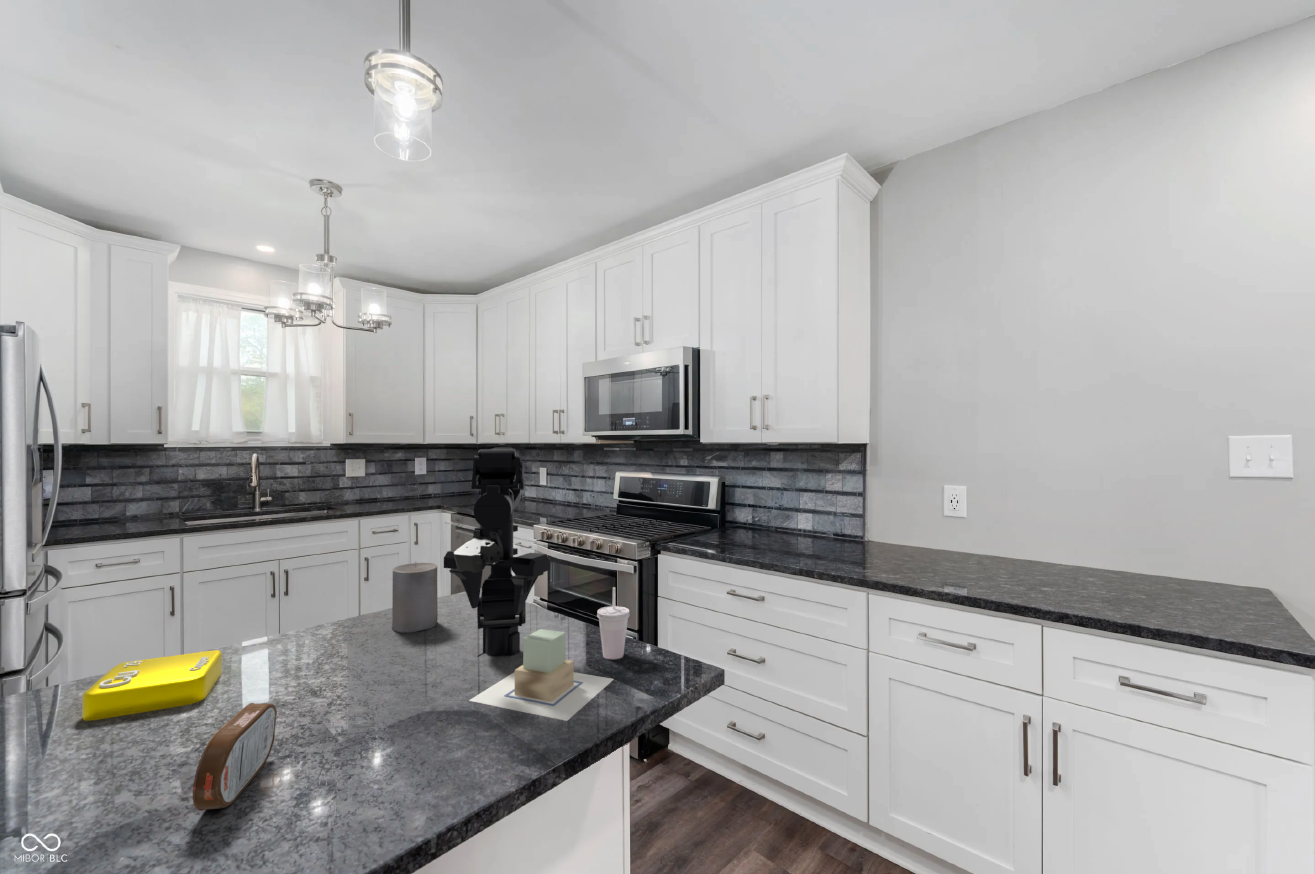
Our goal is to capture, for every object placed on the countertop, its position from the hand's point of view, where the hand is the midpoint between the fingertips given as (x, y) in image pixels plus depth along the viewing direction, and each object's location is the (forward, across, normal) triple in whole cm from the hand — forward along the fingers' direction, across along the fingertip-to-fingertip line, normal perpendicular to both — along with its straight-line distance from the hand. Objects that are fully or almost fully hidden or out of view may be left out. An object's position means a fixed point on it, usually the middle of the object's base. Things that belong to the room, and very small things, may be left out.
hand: (495, 610), depth 97 cm
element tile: (+14, -51, -23) cm, 58 cm away
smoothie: (+13, +14, +18) cm, 26 cm away
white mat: (+13, +10, 0) cm, 16 cm away
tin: (+13, -11, -35) cm, 39 cm away
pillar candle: (+13, -38, +20) cm, 45 cm away
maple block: (+12, +10, 0) cm, 16 cm away
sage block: (+8, +10, 0) cm, 13 cm away
